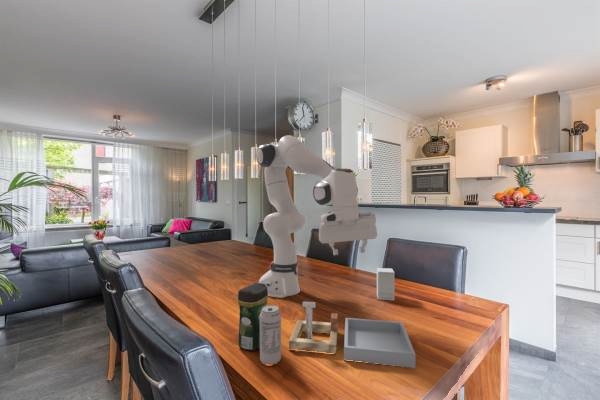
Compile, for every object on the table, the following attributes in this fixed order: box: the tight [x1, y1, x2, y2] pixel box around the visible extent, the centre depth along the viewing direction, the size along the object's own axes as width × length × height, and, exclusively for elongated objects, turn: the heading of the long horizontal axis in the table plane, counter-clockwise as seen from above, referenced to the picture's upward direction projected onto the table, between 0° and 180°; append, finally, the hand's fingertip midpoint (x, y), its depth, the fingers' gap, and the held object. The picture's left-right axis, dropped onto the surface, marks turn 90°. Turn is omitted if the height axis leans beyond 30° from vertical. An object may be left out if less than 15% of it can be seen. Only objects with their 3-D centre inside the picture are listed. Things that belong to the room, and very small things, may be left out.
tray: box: [343, 317, 416, 369], centre depth 85 cm, size 19×19×4 cm
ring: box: [288, 312, 339, 354], centre depth 89 cm, size 14×14×7 cm
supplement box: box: [376, 267, 396, 302], centre depth 126 cm, size 7×7×13 cm
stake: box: [302, 301, 317, 339], centre depth 86 cm, size 4×2×13 cm, turn 80°
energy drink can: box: [259, 304, 282, 364], centre depth 78 cm, size 6×6×15 cm
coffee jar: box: [237, 281, 269, 351], centre depth 87 cm, size 10×8×19 cm
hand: (349, 253), depth 97 cm, fingers open, 8 cm apart
